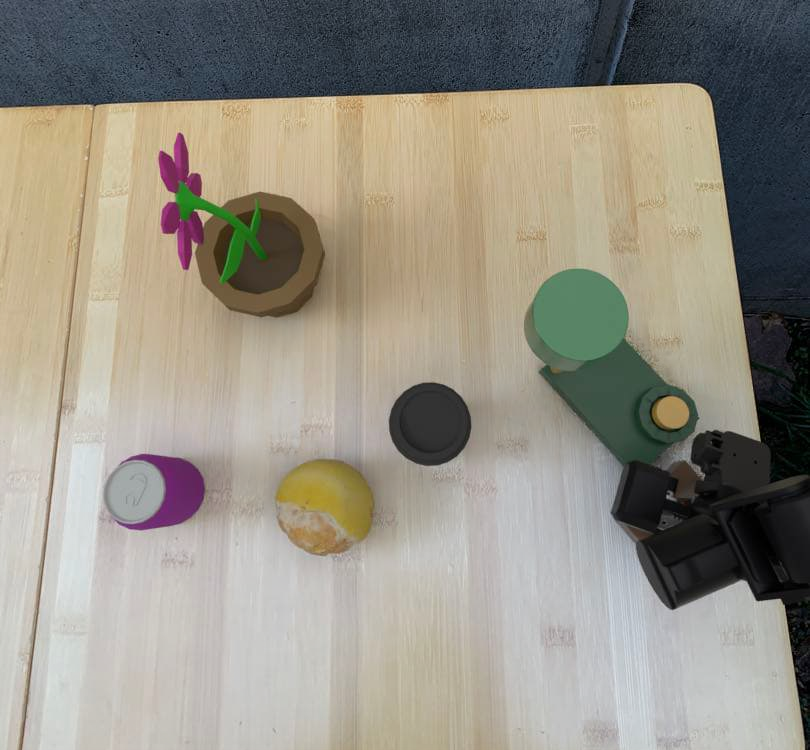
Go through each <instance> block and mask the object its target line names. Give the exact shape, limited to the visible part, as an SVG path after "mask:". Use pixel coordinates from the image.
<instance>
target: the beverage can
mask: <svg viewBox="0 0 810 750" xmlns="http://www.w3.org/2000/svg"><path fill="white" fill-rule="evenodd" d="M205 490H206V487H205V480H204V477H203V475H202V473H201V472H200V470H199V468H198V467H196V466H195V465H194V464H193V462H190V461H188V460H186V459H184V458H182V457H174V456H167V455H159V454H151V453H140V454H136V455H132V456H130V457H128V458H126V459H125V460H123V461H121V462H120V463H119V464H118V465H117V466H116V467H115V468H114V469H113V470H112V471H111V472H110V473H109V474H108V476H107V478H106V480H105V481H104V484H103V490H102V501H103V505H104V507H105V509H106V512H107V514H109V516H110V517H111V518H112V519H113V520H114V521H115V522H116V523H117V524H118V526H119V525H120V526H122V527H124V528H126V529H127V530H133V531H146V530H147V531H148V530H154V529H160V528H167V527H172V526H176V525H181V524H182V523H184V522H187V521H188V520H189V519H191V518H192V517H193V516H194V515H195V514H196V513H197V512H198V511H199V510H200V507H201V505H202V503H203V502H204V497H205Z"/></svg>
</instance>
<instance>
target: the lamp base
mask: <svg viewBox="0 0 810 750" xmlns="http://www.w3.org/2000/svg"><path fill="white" fill-rule="evenodd" d="M631 345H632V344H630V343H629V342H628V341H627V340H626V339H625V337H624V338H623V340H622V342H621V343H620V344H619V346H618V347H617V348H616V349H615V350H613V351H612V352H611V353H610V354H608V355H607V356H605V357H604V358H602V359H601V360H600V361H598V362H597V363H595V364H594V365H592V366H590V367H588V368H586V369H582V370H578V371H563V372H561V373H560V374H554V373H553V372H552V371H551V370H550V366H549V365H547V364H545V365H544V366H543V367H542V368H541V369H540V370H539V371H538V373H539V375H540V376H541V377H542V378H543V379H544V380H545V381H546V382H547V383H548V384H549V386H551V388H553V389H554V391H555V392H556V393H557V395H559V396H560V397H561V399H562V400H563V401H564V402H565V403H566V404H567V405H568V407H569V408H570V409H571V410H572V411H573V412H574V413H575V414H576V416H577V417H579V419H580V420H581V421H582V422H583V423H584V424H585V425H586V426H587V428H588V429H589V430H590V431H591V432H592V434H594V436H595V437H597V439H598V440H599V441H600V442H601V443H602V444H603V445H604V446H605V447H606V449H607V450H608V451H609V452H610V453H611V454H612V455H613V457H615V459H616V460H617V461H618V462H619V463H620V464H621V465H622V466H623V467H624V464H626V463H628V462H630V461H633V460H638V461H641V462H643V463H646V464H649V465H651V464H652V463H653V462H655V461H656V460H657V459H658V458H659V457H660V456H661V455H662V454H663V453H664V452H665V451H667V450H668V449H669V448H670V447H671V446H672V445H673V444H674V443H676V444H677V443H680V442H681V443H682V442H684V441H686V440H687V439H688V438H689V437H690V436H691V435H693V433H695V431H696V427H697V424H698V421H699V420H700V417H699V414H698V410H697V406H696V403H695V400H694V399H693V398H692V397H691V396H690V395H689V394H688V392H687V391H685V390H684V389H683V388H681V387H677V386H674V385H672V384H669V383H667V382H666V380H664V379H663V378H662V377H661V376H660V375H659V374H658V372H656V371H655V370H654V369H653V368H652V366H651V365H650V364H649V363H648V362H647V361H646V360H645V359H644V358H643V357H642V356H641V355H640V354H639V353H638V351H636V349H635V348H634V347H633V346H631ZM668 396H674V397H678V398H680V399H681V400H683V401H684V402H685V403H686V405H687V407H688V409H689V419H688V421H687V423H686V424H685V425H684V426H682V427H680V428H677V429H673V430H665V429H662V428H660V427H659V426H658V425H657V424H656V423H655V422H654V420H653V418H652V408H653V405H654V404H655V403H656V402H657V401H658V400H660V399H662V398H665V397H668Z"/></svg>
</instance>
